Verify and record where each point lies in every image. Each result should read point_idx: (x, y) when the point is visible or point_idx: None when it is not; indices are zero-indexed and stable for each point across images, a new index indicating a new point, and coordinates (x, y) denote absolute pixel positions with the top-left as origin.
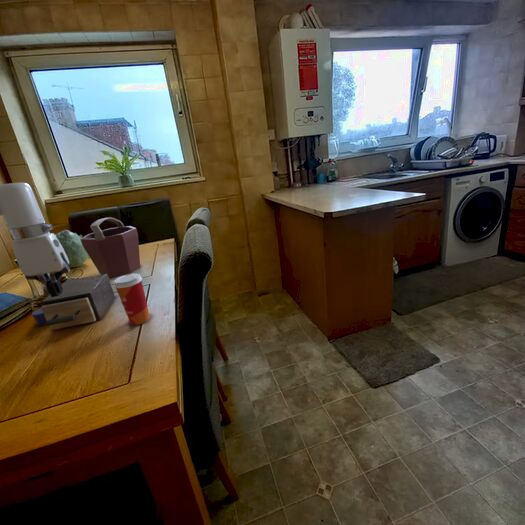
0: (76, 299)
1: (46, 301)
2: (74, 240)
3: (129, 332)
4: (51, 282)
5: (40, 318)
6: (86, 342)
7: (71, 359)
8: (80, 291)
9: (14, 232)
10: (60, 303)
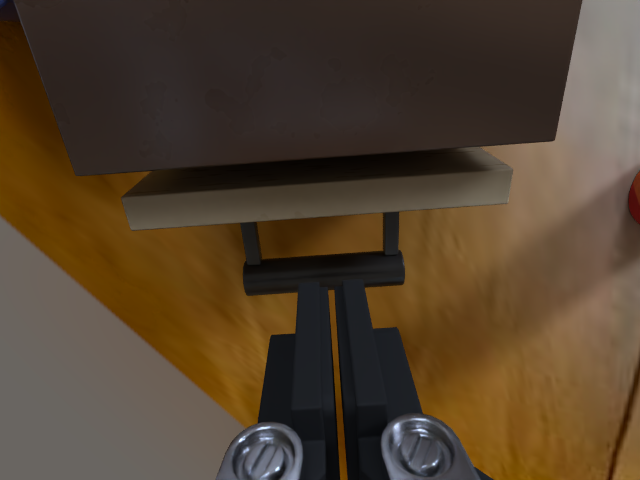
0: (412, 180)
1: (125, 171)
2: None
3: (618, 280)
4: (332, 464)
5: (4, 19)
6: (438, 299)
7: (417, 380)
8: (426, 47)
9: None
10: (287, 213)
